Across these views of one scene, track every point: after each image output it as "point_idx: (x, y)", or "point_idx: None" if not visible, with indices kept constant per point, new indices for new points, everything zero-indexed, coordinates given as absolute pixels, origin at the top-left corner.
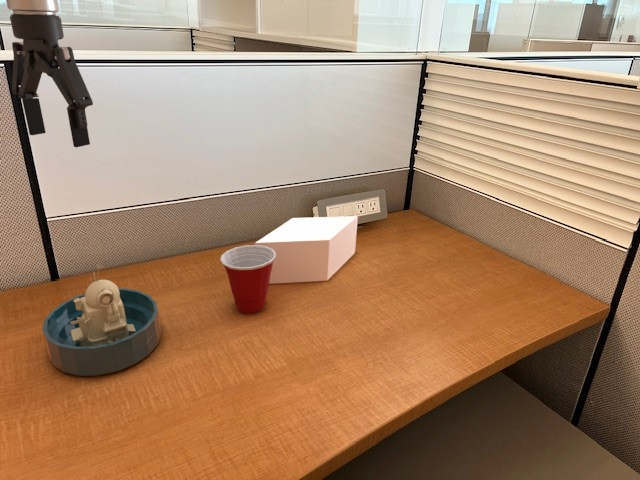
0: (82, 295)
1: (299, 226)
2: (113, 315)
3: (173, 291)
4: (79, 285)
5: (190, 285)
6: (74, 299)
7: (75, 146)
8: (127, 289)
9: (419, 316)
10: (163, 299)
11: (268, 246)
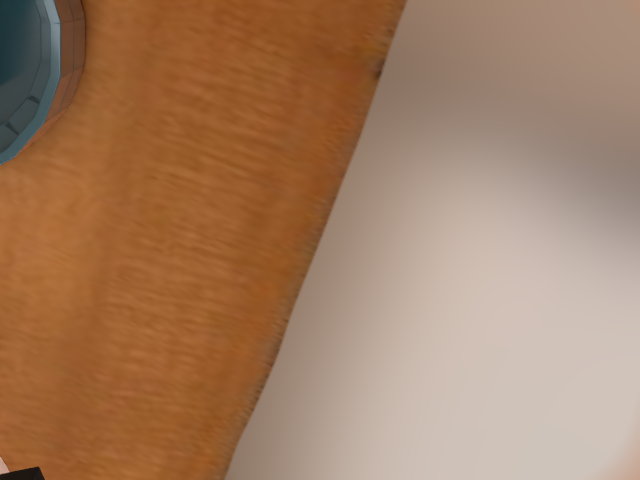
0: (51, 35)
1: None
2: None
3: (88, 274)
4: (302, 108)
5: (89, 320)
6: (44, 5)
7: (10, 477)
8: (3, 158)
9: None
10: (65, 236)
11: None
